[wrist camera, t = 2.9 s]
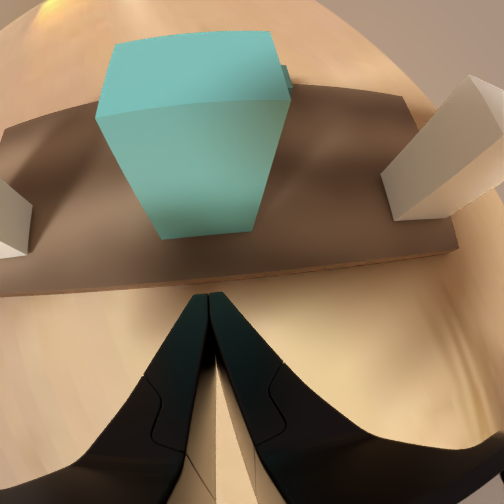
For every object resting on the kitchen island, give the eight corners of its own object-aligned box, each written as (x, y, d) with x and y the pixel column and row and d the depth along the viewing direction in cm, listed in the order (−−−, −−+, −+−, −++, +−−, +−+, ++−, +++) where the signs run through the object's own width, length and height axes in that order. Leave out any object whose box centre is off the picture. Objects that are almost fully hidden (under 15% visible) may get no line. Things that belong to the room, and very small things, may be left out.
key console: (448, 253, 17) (489, 234, 13) (-16, 297, 13) (-57, 285, 9) (395, 105, 20) (418, 72, 16) (11, 137, 17) (-13, 106, 13)
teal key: (252, 231, 15) (291, 100, 6) (161, 239, 14) (95, 118, 6) (244, 177, 16) (269, 31, 7) (160, 184, 15) (115, 44, 6)
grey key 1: (446, 218, 16) (546, 150, 8) (394, 220, 16) (503, 135, 7) (432, 176, 17) (518, 98, 8) (380, 174, 17) (468, 74, 8)
